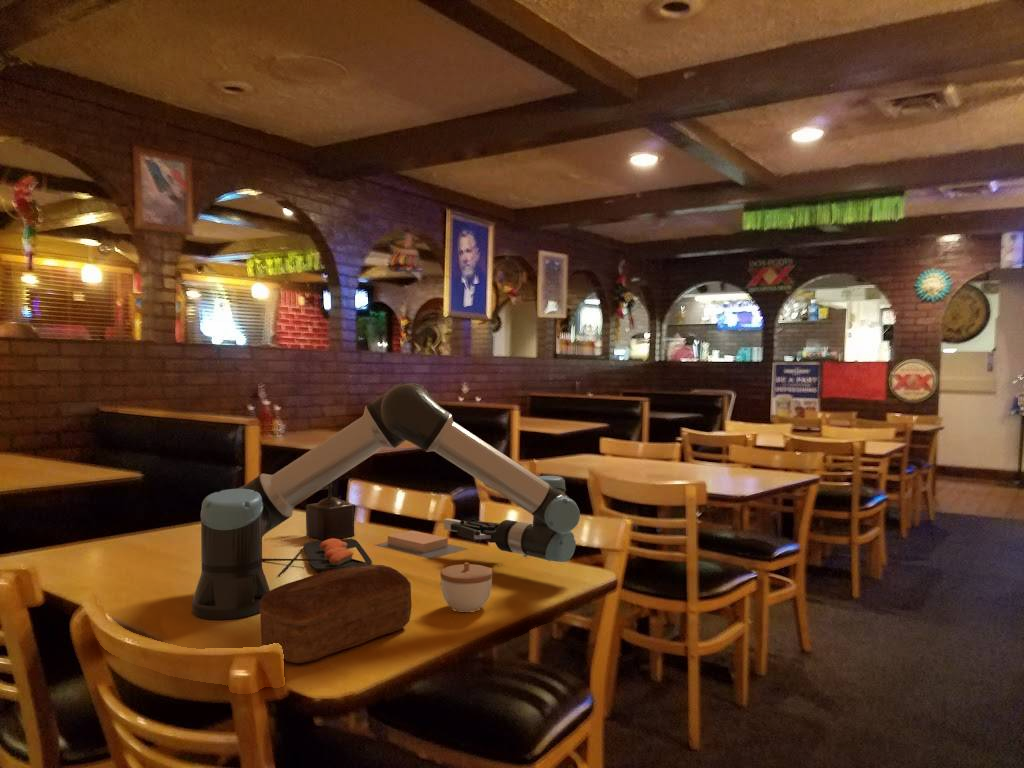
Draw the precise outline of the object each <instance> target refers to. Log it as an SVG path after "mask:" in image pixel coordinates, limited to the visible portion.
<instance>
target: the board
mask: <svg viewBox="0 0 1024 768" xmlns="http://www.w3.org/2000/svg"><path fill="white" fill-rule="evenodd" d="M375 546H376V547H381V548H385V549H389V550H393V551H398V552H401V553H405V554H409V555H413V556H418V557H422V558H426V559H430V560H433V559H436V558H440V557H443V556H446V555H447V556H448V555H451V554H455V553H458V552H459V553H460V552H461V551H462V552H463V551H465V550H468V549H469V548H468V547H463V546H459V545H455V544H449V543H448V547H446V548H442V549H438V550H434V551H430V552H426V553H420V552H416V551H412V550H408V549H403V548H399V547H395V546H391V545H388V541H385V542H381V543H377V544H375Z"/></svg>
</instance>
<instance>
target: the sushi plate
mask: <svg viewBox="0 0 1024 768" xmlns="http://www.w3.org/2000/svg"><path fill="white" fill-rule="evenodd" d="M353 548H355V549H356V550H357V551H358V553H359V555H360V556H361V557H362V559H363V560H364V561H362V560H358V559H355V558H353V555H354V552H353V551H352V550H349V549H353ZM303 550H304V552H305V554H306V557H307V558H298V557H299V555H300V554H301V553H302V552H303ZM282 561H286V562H288V564H286V566H285V567H284V568H283V569H282V570H281V571H280V572H279V573H278V575H277V576H280V575H281V574H282V573H283V574H284V573H285V572H287V570H288V569H289V568H290V566H291V565H292V564H293V562H294V561H300V562H301V561H306V562H307V561H308V562H309V564H310V565H311V567H312V569H314V570H315V571H327V570H332V569H339V568H345V567H351V566H361V565H366V564H368V565H373V562H372V560H371V557H370V556H369V555H368V553H367V552H366V551H365V550H364V548H363V546H362V545H361V543H360V542H359V541H358V540H356V539H353V538H343V539H334V538H332V539H328V540H324V541H320V540H314V541H308V542H304V543H303V547H302V548H301V549H300V551H299V552H297V554H296V555H295V556H294V557H293V558H265V557H264V558H263V557H262V562H282ZM283 574H282V575H283ZM282 575H281V576H282ZM281 576H280V577H281Z"/></svg>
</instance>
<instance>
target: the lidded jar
mask: <svg viewBox="0 0 1024 768" xmlns="http://www.w3.org/2000/svg"><path fill="white" fill-rule="evenodd" d="M463 563H464V564H463ZM463 563H462V564H453V565H449V566H447V567H444V568H442V569H441V570H440V573H439V574H440V586H441V588H440V589H441V593H442V597H443V599H444V601H445V602H446V604H447V605H448V606H449V607H451V608H450V609H451V610H452V609H454V610H456V611H460V612H471V611H476V610H478V609H480V608H481V609H482V607H483V606H484V605H485V604H486V603H487V602H488V600H489V598H490V597H491V591H492V587H493V585H492V583H493V570H492V568H490V567H489V566H484V565H480V564H472V563H469V562H463ZM481 609H480V610H481Z"/></svg>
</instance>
